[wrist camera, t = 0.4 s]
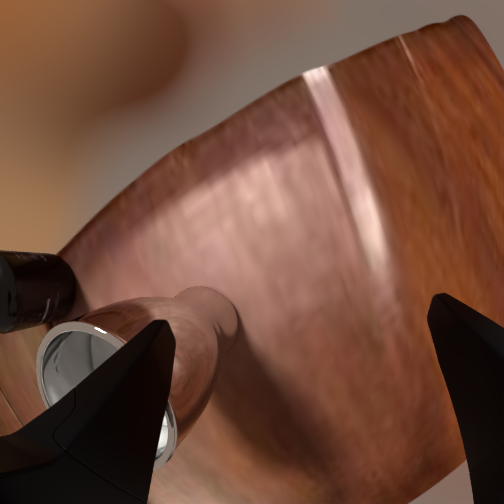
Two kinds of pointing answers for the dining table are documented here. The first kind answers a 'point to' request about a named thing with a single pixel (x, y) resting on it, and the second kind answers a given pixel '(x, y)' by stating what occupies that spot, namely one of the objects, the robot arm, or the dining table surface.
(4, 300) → the supplement bottle
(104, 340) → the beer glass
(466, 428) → the robot arm
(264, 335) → the dining table surface
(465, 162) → the dining table surface
